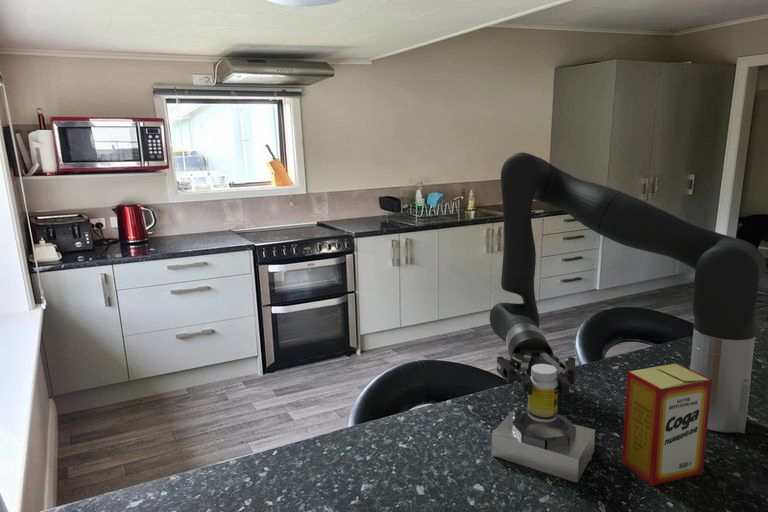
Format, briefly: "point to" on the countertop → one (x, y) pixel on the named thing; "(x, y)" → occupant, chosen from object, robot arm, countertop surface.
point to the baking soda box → (666, 422)
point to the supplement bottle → (543, 393)
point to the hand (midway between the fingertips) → (547, 389)
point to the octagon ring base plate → (544, 444)
